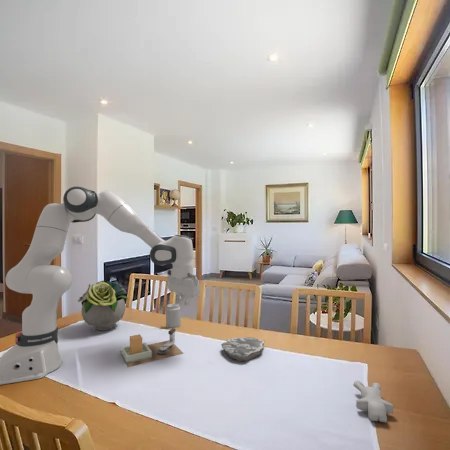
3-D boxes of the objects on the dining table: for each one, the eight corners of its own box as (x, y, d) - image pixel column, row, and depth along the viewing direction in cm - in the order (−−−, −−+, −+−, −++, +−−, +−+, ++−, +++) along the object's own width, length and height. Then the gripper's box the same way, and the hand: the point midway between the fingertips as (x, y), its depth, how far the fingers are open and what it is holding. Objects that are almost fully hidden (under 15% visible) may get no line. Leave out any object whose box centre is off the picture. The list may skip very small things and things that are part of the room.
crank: (164, 352, 118) (164, 338, 118) (157, 351, 119) (157, 337, 119) (177, 341, 128) (177, 328, 128) (171, 340, 129) (171, 328, 129)
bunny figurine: (359, 408, 79) (350, 374, 94) (359, 425, 80) (350, 388, 94) (398, 413, 77) (382, 377, 91) (398, 431, 77) (382, 392, 92)
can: (173, 331, 147) (172, 307, 147) (163, 328, 152) (162, 305, 152) (183, 327, 153) (183, 304, 153) (173, 324, 158) (173, 302, 158)
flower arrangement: (78, 324, 159) (77, 279, 159) (126, 317, 170) (126, 275, 170) (76, 340, 137) (76, 288, 137) (132, 331, 147) (131, 283, 147)
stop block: (142, 355, 117) (142, 337, 117) (132, 357, 115) (131, 339, 115) (139, 351, 120) (139, 334, 120) (129, 353, 118) (129, 336, 118)
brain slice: (235, 340, 136) (235, 333, 136) (269, 347, 128) (269, 341, 128) (212, 357, 119) (212, 349, 119) (250, 367, 111) (250, 359, 111)
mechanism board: (127, 371, 108) (127, 364, 108) (119, 354, 122) (119, 348, 122) (183, 357, 119) (183, 350, 119) (170, 343, 133) (170, 337, 133)
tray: (126, 363, 111) (126, 356, 111) (121, 353, 119) (121, 347, 119) (151, 357, 116) (151, 351, 116) (145, 348, 124) (145, 342, 124)
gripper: (203, 274, 122) (203, 307, 122) (176, 268, 137) (177, 298, 137) (190, 276, 117) (191, 310, 118) (164, 270, 133) (165, 301, 133)
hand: (183, 304), depth 127 cm, fingers open, 4 cm apart
